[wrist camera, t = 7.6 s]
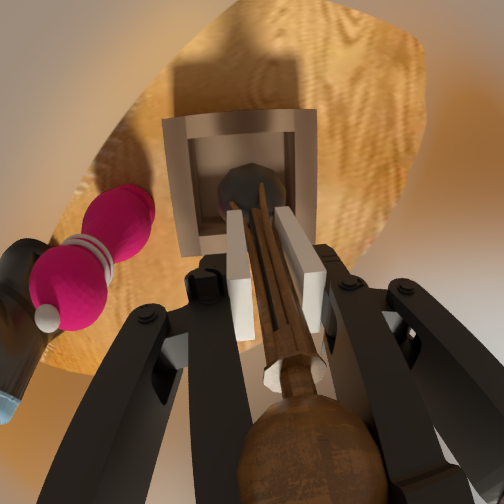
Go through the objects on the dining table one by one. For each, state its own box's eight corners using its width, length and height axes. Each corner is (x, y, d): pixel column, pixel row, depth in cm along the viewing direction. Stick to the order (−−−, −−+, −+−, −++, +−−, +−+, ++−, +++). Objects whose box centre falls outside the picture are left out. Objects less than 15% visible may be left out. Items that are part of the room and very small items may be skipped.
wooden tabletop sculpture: (303, 216, 21) (458, 507, 3) (251, 249, 22) (302, 561, 4) (258, 149, 18) (483, 523, 1) (203, 188, 19) (131, 569, 2)
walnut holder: (188, 232, 33) (181, 257, 27) (174, 118, 26) (161, 119, 21) (300, 223, 33) (315, 246, 28) (299, 109, 27) (316, 109, 22)
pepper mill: (91, 207, 30) (-12, 311, 12) (130, 166, 28) (19, 249, 11) (130, 249, 33) (63, 380, 15) (172, 213, 31) (116, 343, 14)
